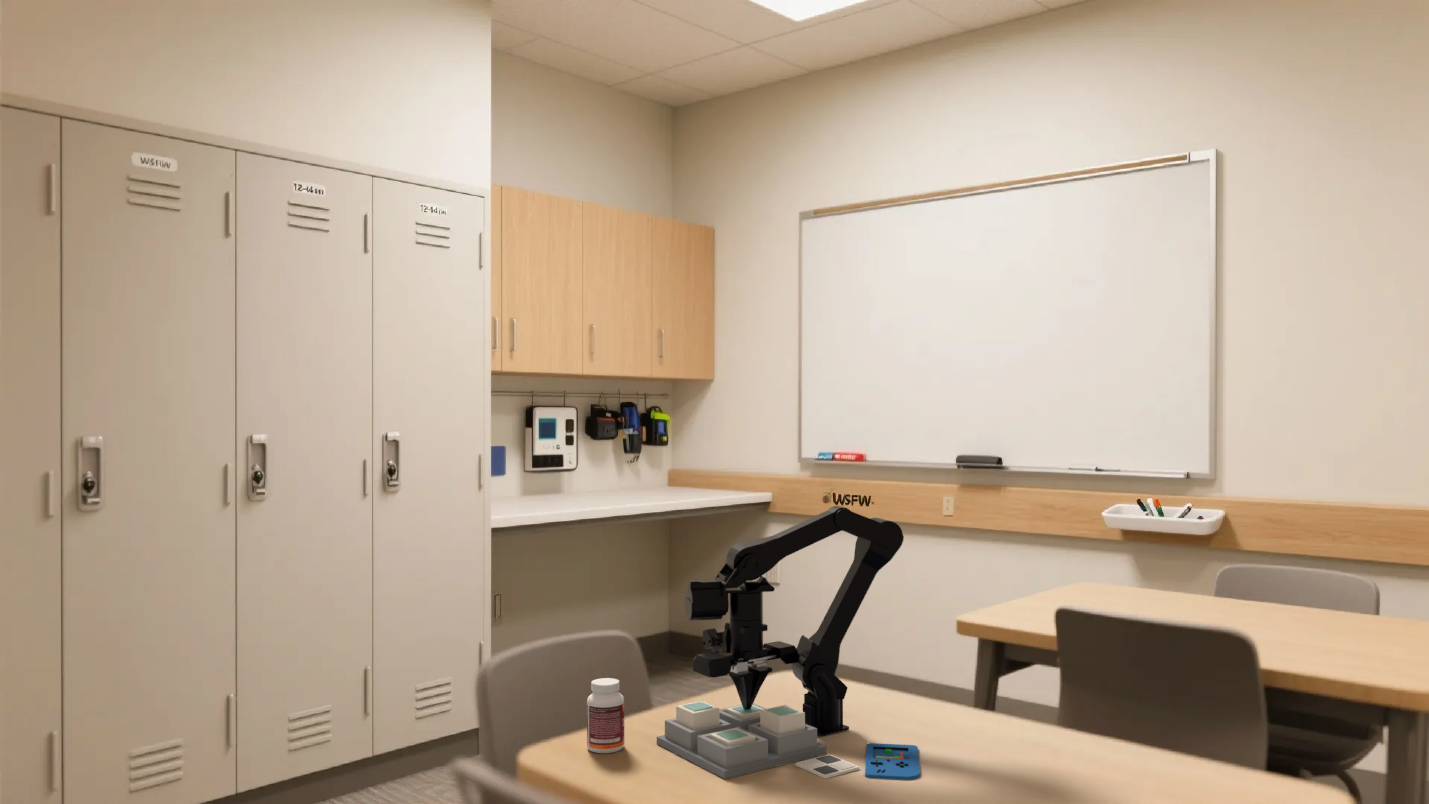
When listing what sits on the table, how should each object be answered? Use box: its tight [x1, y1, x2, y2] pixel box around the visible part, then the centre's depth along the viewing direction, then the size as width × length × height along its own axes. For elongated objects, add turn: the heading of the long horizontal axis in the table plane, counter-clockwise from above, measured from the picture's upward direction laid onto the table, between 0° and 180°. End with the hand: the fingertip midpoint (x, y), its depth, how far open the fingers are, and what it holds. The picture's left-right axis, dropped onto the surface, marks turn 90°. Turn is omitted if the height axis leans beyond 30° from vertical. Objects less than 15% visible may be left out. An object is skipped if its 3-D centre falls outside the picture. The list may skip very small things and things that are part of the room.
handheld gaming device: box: [864, 742, 921, 781], centre depth 159 cm, size 8×1×15 cm
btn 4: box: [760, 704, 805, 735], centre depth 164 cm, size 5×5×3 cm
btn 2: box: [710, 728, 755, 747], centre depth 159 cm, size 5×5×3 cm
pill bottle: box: [586, 677, 625, 754], centre depth 166 cm, size 6×6×11 cm
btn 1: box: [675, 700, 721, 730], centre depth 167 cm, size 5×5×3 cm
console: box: [656, 702, 827, 780], centre depth 166 cm, size 20×20×4 cm
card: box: [795, 754, 860, 780], centre depth 157 cm, size 7×7×1 cm
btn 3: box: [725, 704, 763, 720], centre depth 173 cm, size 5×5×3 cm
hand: (746, 708), depth 173 cm, fingers closed, pressing on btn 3
